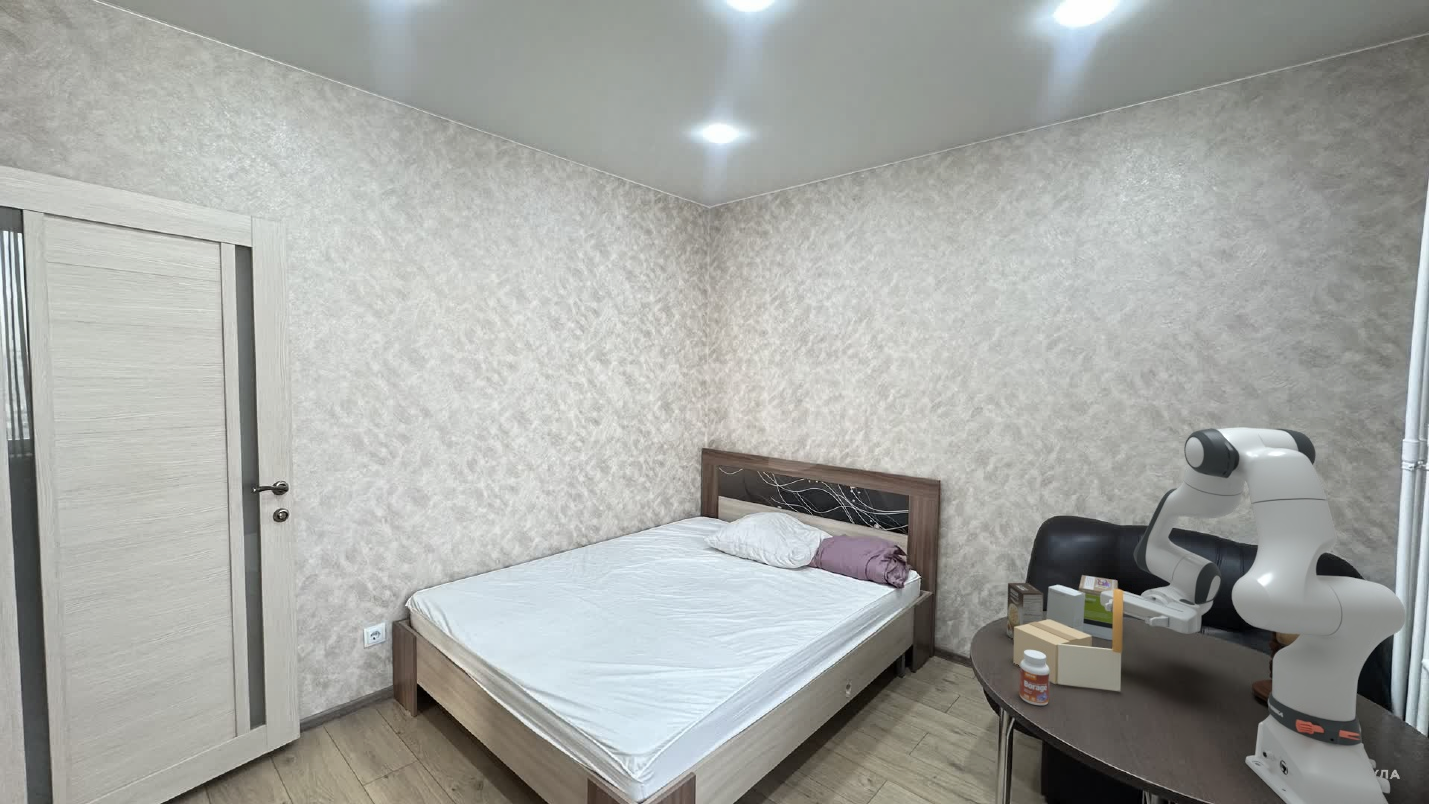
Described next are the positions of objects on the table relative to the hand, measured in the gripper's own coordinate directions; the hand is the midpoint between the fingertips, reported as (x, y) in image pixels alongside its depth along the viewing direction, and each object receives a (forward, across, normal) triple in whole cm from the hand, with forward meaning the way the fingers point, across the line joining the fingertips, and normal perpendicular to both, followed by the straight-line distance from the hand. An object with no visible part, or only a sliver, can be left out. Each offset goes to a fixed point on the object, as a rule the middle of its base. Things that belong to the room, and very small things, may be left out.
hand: (1127, 614), depth 141 cm
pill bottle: (+24, -6, +19) cm, 32 cm away
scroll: (-30, +20, +19) cm, 41 cm away
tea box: (-31, -27, +20) cm, 46 cm away
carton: (+6, -15, +19) cm, 25 cm away
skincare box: (-16, -27, +20) cm, 37 cm away
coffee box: (-3, -30, +20) cm, 36 cm away
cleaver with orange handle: (+8, -4, +19) cm, 21 cm away
